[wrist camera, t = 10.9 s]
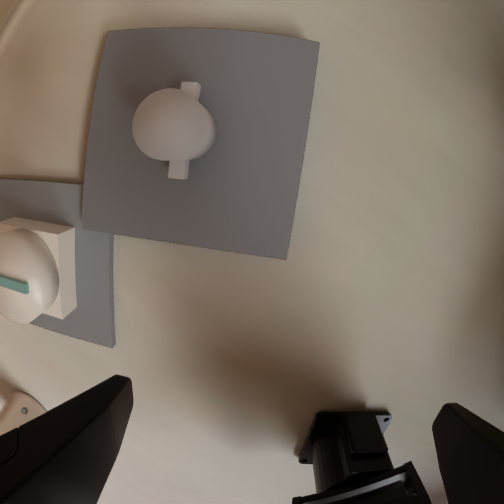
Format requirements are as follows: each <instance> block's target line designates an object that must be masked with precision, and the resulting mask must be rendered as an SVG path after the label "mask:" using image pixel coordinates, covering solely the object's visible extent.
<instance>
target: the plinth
mask: <svg viewBox="0 0 504 504" xmlns="http://www.w3.org/2000/svg"><path fill="white" fill-rule="evenodd" d="M319 45H320V42H316V41H311V40H306V39H300V38H295V37H288V36H282V35H275V34H268V33H260V32H251V31H241V30H229V29H212V28H144V29H128V30H116V31H108V33H107V37H106V41H105V45H104V49H103V53H102V58H101V62H100V67H99V72H98V77H97V82H96V87H95V93H94V98H93V104H92V111H91V117H90V125H89V132H88V140H87V149H86V160H85V171H84V185H83V204H82V229H83V230H90V231H96V232H103V233H110V234H116V235H123V236H129V237H136V238H143V239H149V240H156V241H163V242H169V243H176V244H183V245H189V246H196V247H203V248H209V249H216V250H223V251H229V252H236V253H243V254H250V255H256V256H263V257H270V258H277V259H283V260H286V258H287V253H288V247H289V242H290V236H291V230H292V225H293V219H294V213H295V207H296V201H297V195H298V189H299V183H300V177H301V171H302V165H303V158H304V152H305V146H306V139H307V132H308V126H309V119H310V112H311V105H312V98H313V91H314V83H315V76H316V68H317V61H318V53H319Z"/></svg>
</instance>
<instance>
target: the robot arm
mask: <svg viewBox="0 0 504 504" xmlns="http://www.w3.org/2000/svg"><path fill="white" fill-rule="evenodd" d="M132 408H133V391H132V381H131V379H130V378H129V377H125V376H121V375H114V376H112V377H110V378H109V379H107V380H105V381H103V382H101V383H99V384H98V385H96V386H94V387H92V388H90V389H89V390H87V391H85V392H83V393H81V394H79V395H77V396H76V397H74V398H72V399H70V400H68V401H66V402H64V403H63V404H61V405H59V406H57V407H55V408H53V409H51V410H49V411H47V412H46V413H44V414H42V415H40V416H38V417H36V418H34V419H32V420H30V421H28V422H26V423H24V424H22V425H20V426H19V428H18V427H16V428H14V429H12V430H10V431H8V432H6V433H4V434H2V435H0V504H97V502H98V499H99V497H100V494H101V492H102V490H103V488H104V485H105V483H106V481H107V478H108V476H109V474H110V472H111V469H112V467H113V465H114V462H115V460H116V458H117V455H118V453H119V450H120V447H121V444H122V440H123V437H124V434H125V430H126V427H127V424H128V421H129V417H130V414H131V411H132ZM321 417H323V418H321ZM391 419H392V416H391V414H390V413H389V412H319V413H317V414H316V415H315V418H314V420H313V423H312V426H311V428H310V431H309V433H308V436H307V438H306V441H305V443H304V446H303V448H302V450H301V453H300V455H299V463H301V464H313V469H314V477H315V485H316V492H317V493H316V494H312V495H308V496H304V497H300V496H299V497H294V498H293V499H292V504H431V501H430V498H429V496H428V494H427V492H426V490H425V488H424V486H423V484H422V482H421V480H420V478H419V476H418V474H417V472H416V470H415V468H414V466H413V464H412V462H411V461H409V462H407V463H405V464H404V465H403V466H400V467H398V468H395V469H394V468H393V465H392V462H391V459H390V456H389V454H388V447H387V444H386V441H385V439H384V436H383V434H384V432H385V430H386V429H387V427H388V425H389V423H390V421H391ZM432 431H433V436H434V441H435V447H436V452H437V458H438V463H439V469H440V473H441V476H442V480H443V484H444V488H445V491H446V495H447V499H448V503H449V504H504V432H503V431H501V430H499V429H498V428H496V427H495V426H493V425H491V424H490V423H488V422H487V421H485V420H483V419H482V418H480V417H479V416H477V415H475V414H474V413H472V412H471V411H469V410H467V409H466V408H464V407H463V406H461V405H459V404H458V403H447V404H445V405H443V407H442V408H441V410H440V412H439V414H438V415H437V417H436V419H435V420H434V422H433V425H432Z"/></svg>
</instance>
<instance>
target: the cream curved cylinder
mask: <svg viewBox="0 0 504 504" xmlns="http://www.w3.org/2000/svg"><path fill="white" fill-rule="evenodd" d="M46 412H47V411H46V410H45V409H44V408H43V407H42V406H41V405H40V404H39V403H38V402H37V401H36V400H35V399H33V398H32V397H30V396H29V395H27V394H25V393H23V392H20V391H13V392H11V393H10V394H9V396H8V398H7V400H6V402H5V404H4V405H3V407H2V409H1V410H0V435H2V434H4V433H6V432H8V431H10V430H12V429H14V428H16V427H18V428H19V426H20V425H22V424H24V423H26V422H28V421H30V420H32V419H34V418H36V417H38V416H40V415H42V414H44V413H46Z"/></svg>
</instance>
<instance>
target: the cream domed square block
mask: <svg viewBox="0 0 504 504" xmlns="http://www.w3.org/2000/svg"><path fill="white" fill-rule="evenodd" d="M76 307H77V301H76V282H75V227H70V226H64V225H58V224H52V223H47V222H41V221H35V220H29V219H23V218H18V217H14V218H11V219H8V220H5V221H2V222H0V312H1V313H2V314H3V315H4V316H5V317H6V318H8V319H9V320H11V321H13V322H16V323H19V324H26V323H30V322H32V321H33V320H34V319H35V318H37V317H38V316H39V315H40V314H42V313H43V314H47V315H50V316H53V317H56V318H59V319H62V320H63V319H64V318H65V317H66V316H67V315H68V314H69V313H71V312H72V311H73V310H74V309H75V308H76Z"/></svg>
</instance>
